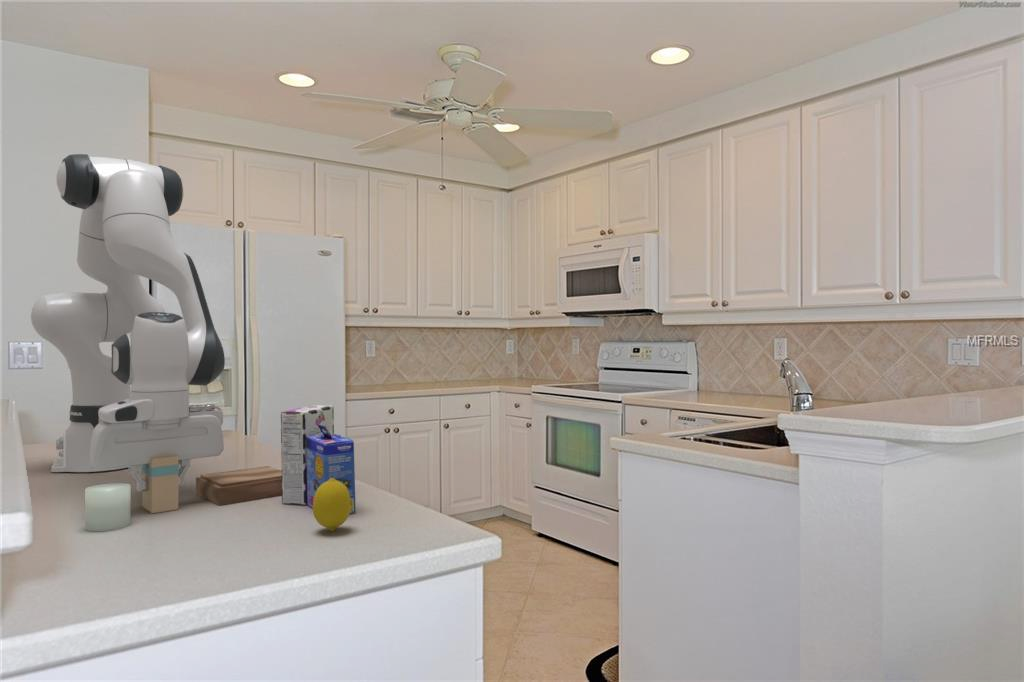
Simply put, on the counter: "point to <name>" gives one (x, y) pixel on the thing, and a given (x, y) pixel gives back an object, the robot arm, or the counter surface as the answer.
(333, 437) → the ink cartridge box
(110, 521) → the pale green candle
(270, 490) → the podium
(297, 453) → the candy bar box
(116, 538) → the counter surface
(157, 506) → the carton
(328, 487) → the lemon
